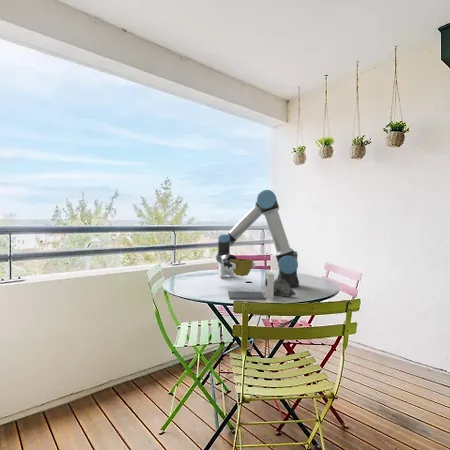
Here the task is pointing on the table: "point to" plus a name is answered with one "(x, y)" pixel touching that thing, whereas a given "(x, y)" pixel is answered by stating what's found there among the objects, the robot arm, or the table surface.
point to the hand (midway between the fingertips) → (244, 266)
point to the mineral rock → (282, 288)
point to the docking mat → (246, 295)
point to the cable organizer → (225, 270)
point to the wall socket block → (269, 284)
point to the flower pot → (242, 266)
